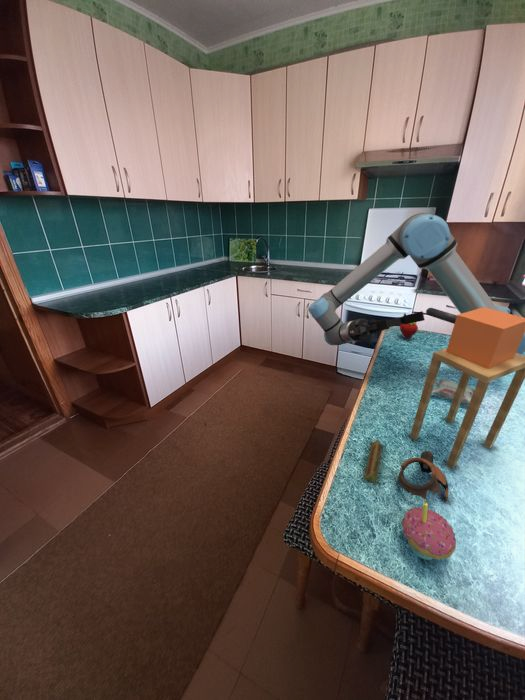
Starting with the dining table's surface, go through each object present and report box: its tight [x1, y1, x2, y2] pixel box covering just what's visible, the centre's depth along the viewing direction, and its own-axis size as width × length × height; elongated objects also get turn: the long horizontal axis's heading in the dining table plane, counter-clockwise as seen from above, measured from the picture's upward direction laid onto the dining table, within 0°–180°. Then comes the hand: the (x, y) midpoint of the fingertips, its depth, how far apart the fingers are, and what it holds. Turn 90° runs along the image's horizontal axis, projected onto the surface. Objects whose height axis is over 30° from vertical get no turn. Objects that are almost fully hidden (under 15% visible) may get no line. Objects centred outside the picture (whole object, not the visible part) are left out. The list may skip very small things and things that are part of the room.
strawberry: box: [399, 322, 419, 340], centre depth 131 cm, size 6×8×10 cm
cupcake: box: [401, 499, 457, 561], centre depth 51 cm, size 9×8×12 cm
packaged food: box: [432, 378, 475, 406], centre depth 92 cm, size 9×12×5 cm
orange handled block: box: [425, 307, 525, 369], centre depth 67 cm, size 10×19×9 cm, turn 28°
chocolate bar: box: [363, 439, 383, 484], centre depth 71 cm, size 3×12×2 cm, turn 154°
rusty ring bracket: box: [397, 450, 449, 502], centre depth 65 cm, size 12×10×8 cm
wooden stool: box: [409, 347, 525, 470], centre depth 71 cm, size 16×12×26 cm
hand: (405, 319), depth 81 cm, fingers open, 13 cm apart
